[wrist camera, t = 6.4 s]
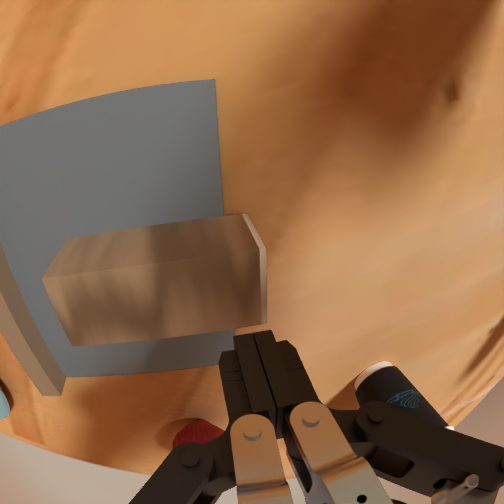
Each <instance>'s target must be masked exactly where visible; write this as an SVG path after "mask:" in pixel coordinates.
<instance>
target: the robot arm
mask: <svg viewBox="0 0 504 504" xmlns="http://www.w3.org/2000/svg"><path fill="white" fill-rule="evenodd" d="M233 344H234V350H229V351H223V352H222V353H221V356H220V359H219V362H218V364H219V369H220V375H221V380H222V386H223V391H224V396H225V401H226V406H227V411H228V416H229V424H228V427H227V429H226V430H225V432H224V433H223V434H222V435H221V436H219V437H218V438H216V439H214V440H212V441H209V442H207V443H205V444H201V443H198V442H184V443H181V444H179V445H177V446H176V447H175V448H174V449H173V450H172V451H171V452H170V454H169V455H168V456H167V457H166V459H165V460H164V461H163V462H162V464H161V465H160V466H159V467H158V469H157V470H156V471H155V472H154V474H153V475H152V476H151V478H150V479H149V480H148V481H147V482H146V483H145V485H144V486H143V487H142V489H141V490H140V491H139V492H138V493H137V494H136V496H135V497H134V498H133V499H132V500H131V502H130V503H129V504H215V503H216V501H217V500H218V498H219V497H220V495H221V493H222V492H224V491H226V490H228V489H231V488H233V487H235V486H237V496H238V504H293V499H292V496H291V491H290V488H289V485H288V483H287V481H286V479H285V475H284V471H283V466H282V462H281V457H280V453H279V448H278V444H277V439H280V438H284V441H285V444H286V447H287V448H286V455H287V457H288V460H289V462H290V464H291V467H292V469H293V471H294V473H295V476H296V478H297V480H298V482H299V485H300V487H301V489H302V491H303V494H304V496H305V502H306V504H406V503H404V502H401V501H398V500H394V499H390V498H389V496H388V494H387V493H386V491H385V489H384V488H383V486H382V484H381V482H380V481H379V479H378V477H381V478H383V479H385V480H388V481H390V482H392V483H395V484H397V485H400V486H403V487H405V488H407V489H410V490H412V491H415V492H418V493H420V494H423V495H426V496H429V497H432V499H431V504H494V502H495V499H496V496H497V493H498V490H499V488H500V487H501V486H503V485H504V448H503V447H500V446H497V445H494V444H491V443H488V442H485V441H482V440H479V439H476V438H473V437H470V436H467V435H464V434H462V433H459V432H456V431H453V430H451V429H448V428H445V427H443V426H440V425H437V424H435V423H432V422H430V421H427V420H425V419H422V418H420V417H417V416H415V415H412V414H410V413H407V412H405V411H403V410H400V409H398V408H395V407H393V406H391V405H388V404H386V403H384V402H380V401H370V402H367V403H365V404H363V405H362V406H361V407H360V408H359V409H358V410H334V409H331V408H329V407H327V406H325V405H324V404H323V403H321V401H320V400H319V399H318V397H317V395H316V392H315V390H314V388H313V386H312V383H311V381H310V379H309V377H308V375H307V372H306V370H305V369H304V366H303V363H302V361H301V360H300V357H299V355H298V352H297V350H296V348H295V347H294V346H293V345H291V344H290V343H289V342H288V341H287V340H284V341H279V342H276V340H275V338H274V335H273V333H272V331H271V330H266V331H261V332H255V333H252V334H251V333H250V334H244V335H238V336H233ZM377 476H378V477H377Z"/></svg>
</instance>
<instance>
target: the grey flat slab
mask: <svg viewBox="0 0 504 504" xmlns="http://www.w3.org/2000/svg"><path fill="white" fill-rule="evenodd" d="M219 216H224V207H223V194H222V180H221V166H220V151H219V136H218V119H217V102H216V84H215V79H211V80H199V81H188V82H179V83H171V84H163V85H156V86H150V87H143V88H137V89H132V90H126V91H121V92H116V93H111V94H106V95H102V96H97V97H93V98H89V99H85V100H81V101H77V102H73V103H69V104H66V105H62V106H59V107H55V108H52V109H49V110H45V111H42V112H39V113H36V114H33V115H30V116H27V117H24V118H21V119H18V120H16V121H13V122H10V123H8V124H5V125H2V126H0V332H1V333H2V335H3V337H4V339H5V340H6V342H7V344H8V345H9V347H10V349H11V350H12V352H13V353H14V355H15V357H16V358H17V360H18V361H19V363H20V364H21V366H22V367H23V369H24V370H25V372H26V373H27V375H28V376H29V378H30V379H31V380H32V382H33V383H34V385H35V386H36V387H37V389H38V390H39V392H40V393H41V394H42V396H61V395H62V391H63V387H64V383H65V379H66V377H95V376H114V375H129V374H142V373H153V372H163V371H172V370H181V369H189V368H197V367H205V366H212V365H218V362H219V359H220V356H221V353H222V352H223V351H229V350H234V344H233V336H235V331H234V329H229V330H223V331H216V332H209V333H202V334H194V335H187V336H179V337H171V338H162V339H153V340H144V341H134V342H124V343H112V344H100V345H86V346H72V345H71V343H70V341H69V339H68V337H67V335H66V333H65V331H64V329H63V327H62V325H61V323H60V320H59V318H58V316H57V314H56V312H55V309H54V307H53V305H52V303H51V300H50V298H49V296H48V293H47V291H46V288H45V286H44V283H43V281H42V277H43V275H44V274H45V272H46V271H47V269H48V267H49V266H50V264H51V263H52V261H53V260H54V258H55V256H56V255H57V253H58V252H59V250H60V249H61V247H62V246H63V244H64V243H65V242H66V240H67V239H68V238H74V237H80V236H86V235H92V234H98V233H104V232H111V231H117V230H124V229H130V228H137V227H144V226H151V225H158V224H165V223H172V222H180V221H187V220H195V219H203V218H211V217H219Z"/></svg>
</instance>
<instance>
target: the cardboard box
mask: <svg viewBox="0 0 504 504" xmlns="http://www.w3.org/2000/svg"><path fill="white" fill-rule="evenodd" d="M42 281H43V283H44V286H45V288H46V291H47V293H48V296H49V298H50V300H51V303H52V305H53V307H54V309H55V312H56V314H57V316H58V318H59V320H60V323H61V325H62V327H63V329H64V331H65V333H66V335H67V337H68V339H69V341H70V343H71V345H72V346H86V345H100V344H112V343H124V342H134V341H144V340H153V339H162V338H171V337H179V336H187V335H194V334H202V333H209V332H216V331H223V330H229V329H236V328H242V327H248V326H254V325H260V324H266V323H267V277H266V247H265V246H264V244H263V242H262V240H261V238H260V236H259V235H258V233H257V231H256V229H255V227H254V225H253V223H252V222H251V220H250V218H249V216H248V214H247V213H245V214H236V215H227V216H219V217H211V218H203V219H195V220H187V221H180V222H172V223H165V224H158V225H151V226H144V227H137V228H130V229H124V230H117V231H111V232H104V233H98V234H92V235H86V236H80V237H74V238H68V239H67V240H66V242H65V243H64V244H63V246H62V247H61V249H60V250H59V252H58V253H57V255H56V256H55V258H54V260H53V261H52V263H51V264H50V266H49V267H48V269H47V271H46V272H45V274H44V275H43V277H42Z"/></svg>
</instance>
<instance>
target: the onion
mask: <svg viewBox="0 0 504 504" xmlns="http://www.w3.org/2000/svg"><path fill="white" fill-rule="evenodd" d="M224 432H225V431H224V430H222V429H220V428H218V427H217V426H215V425H213V424H211V423H209V422H207V421H205V420H197V421H195V422H193V423H191V424H189V425H187V426H185V427H184V428H183V429H182V430H181V431H180V432H179V433H178V434H177V435H176V437H175V439H174V441H173V449H174V448H175V447H176V446H177V445H179V444H181V443H184V442H198V443H201V444H205V443H207V442H209V441H212V440H214V439H216V438H218V437H219V436H221V435H222V434H223V433H224Z"/></svg>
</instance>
